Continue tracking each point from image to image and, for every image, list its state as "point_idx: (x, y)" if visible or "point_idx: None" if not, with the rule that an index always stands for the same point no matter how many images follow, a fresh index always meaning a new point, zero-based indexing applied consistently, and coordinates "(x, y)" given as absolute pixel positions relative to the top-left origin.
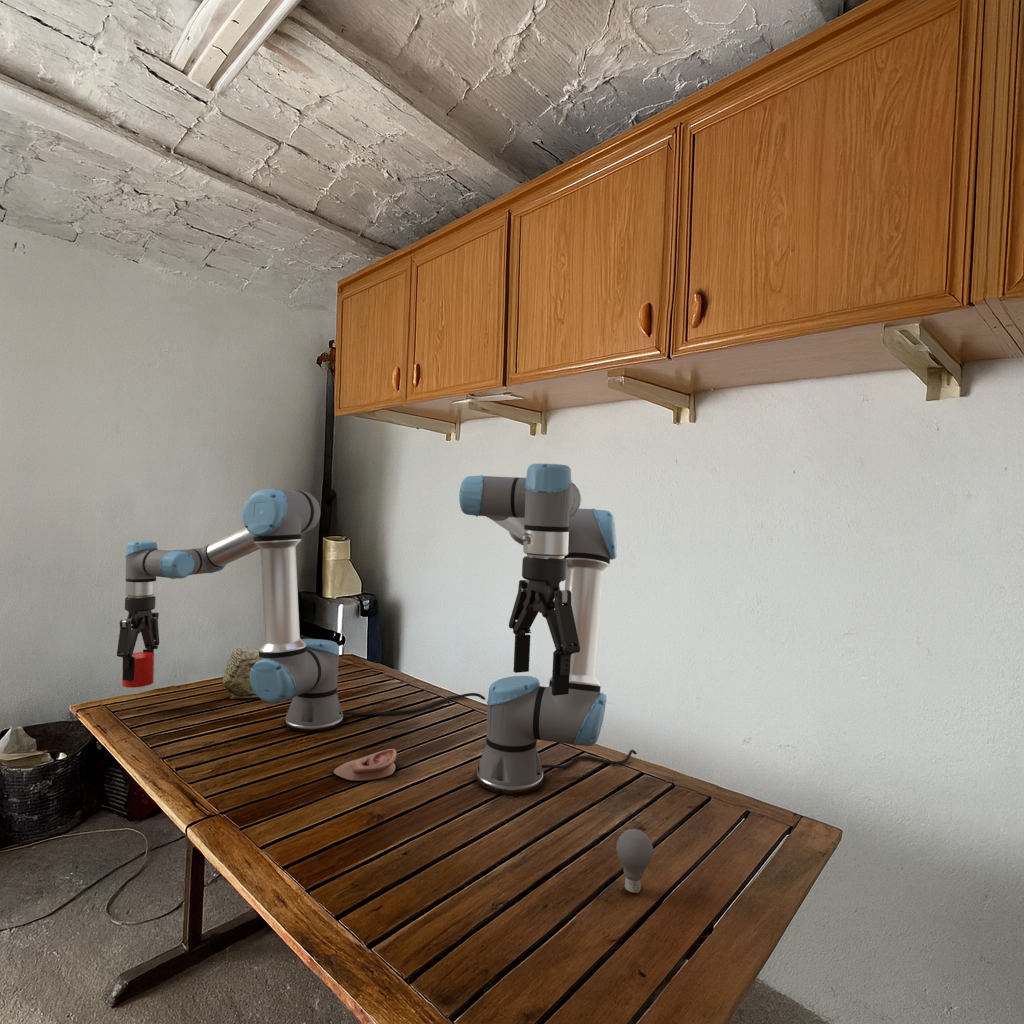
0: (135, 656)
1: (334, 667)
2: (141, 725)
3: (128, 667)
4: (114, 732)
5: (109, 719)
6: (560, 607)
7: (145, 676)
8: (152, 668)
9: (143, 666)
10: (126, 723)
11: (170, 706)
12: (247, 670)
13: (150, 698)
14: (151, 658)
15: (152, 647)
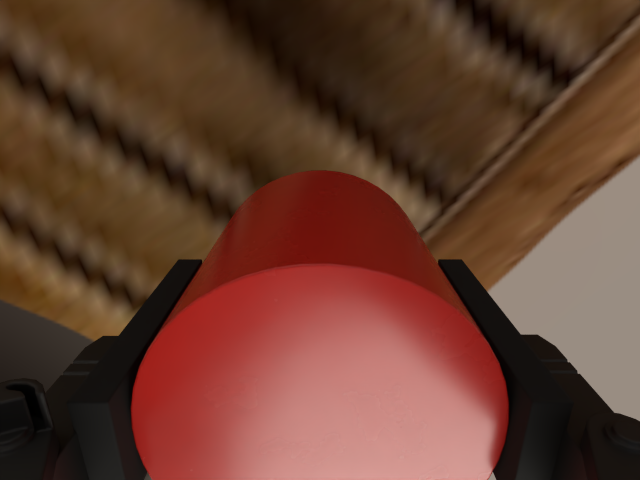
0: (393, 433)
1: None
2: (525, 52)
3: (535, 346)
4: (625, 123)
5: (449, 255)
6: None
7: (383, 203)
8: (297, 206)
9: (420, 252)
10: (498, 147)
11: (215, 86)
12: None
13: (134, 263)
14: (323, 249)
15: (54, 443)
